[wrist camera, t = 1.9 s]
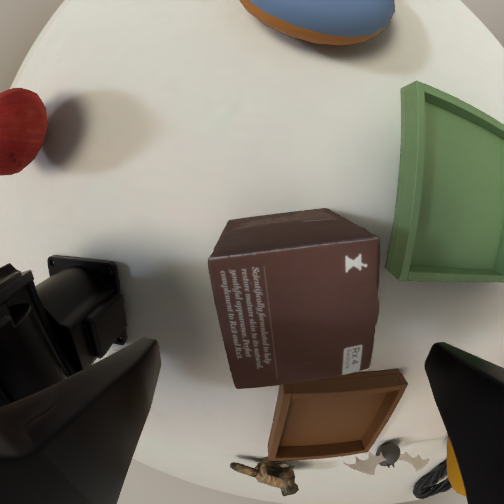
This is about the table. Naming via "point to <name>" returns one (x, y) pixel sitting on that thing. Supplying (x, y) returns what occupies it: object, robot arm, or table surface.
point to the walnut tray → (333, 415)
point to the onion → (20, 129)
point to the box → (295, 296)
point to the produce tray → (448, 191)
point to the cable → (432, 483)
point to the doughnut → (324, 18)
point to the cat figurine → (271, 475)
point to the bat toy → (386, 459)
